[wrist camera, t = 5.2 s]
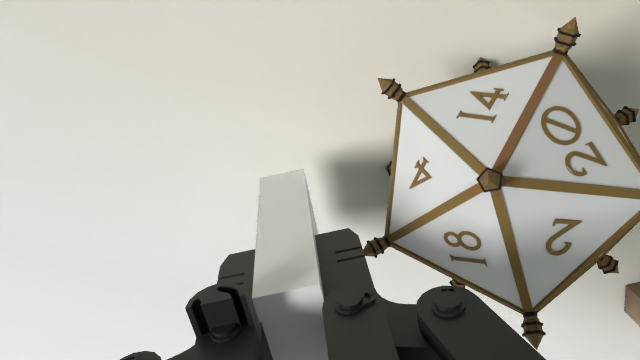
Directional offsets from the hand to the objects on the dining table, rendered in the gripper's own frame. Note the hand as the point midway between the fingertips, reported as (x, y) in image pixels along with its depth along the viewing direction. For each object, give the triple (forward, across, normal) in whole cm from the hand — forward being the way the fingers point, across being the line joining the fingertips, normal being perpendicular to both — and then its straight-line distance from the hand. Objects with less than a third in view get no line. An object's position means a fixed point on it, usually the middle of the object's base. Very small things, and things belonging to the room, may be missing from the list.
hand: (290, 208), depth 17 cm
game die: (+2, +7, 0) cm, 7 cm away
